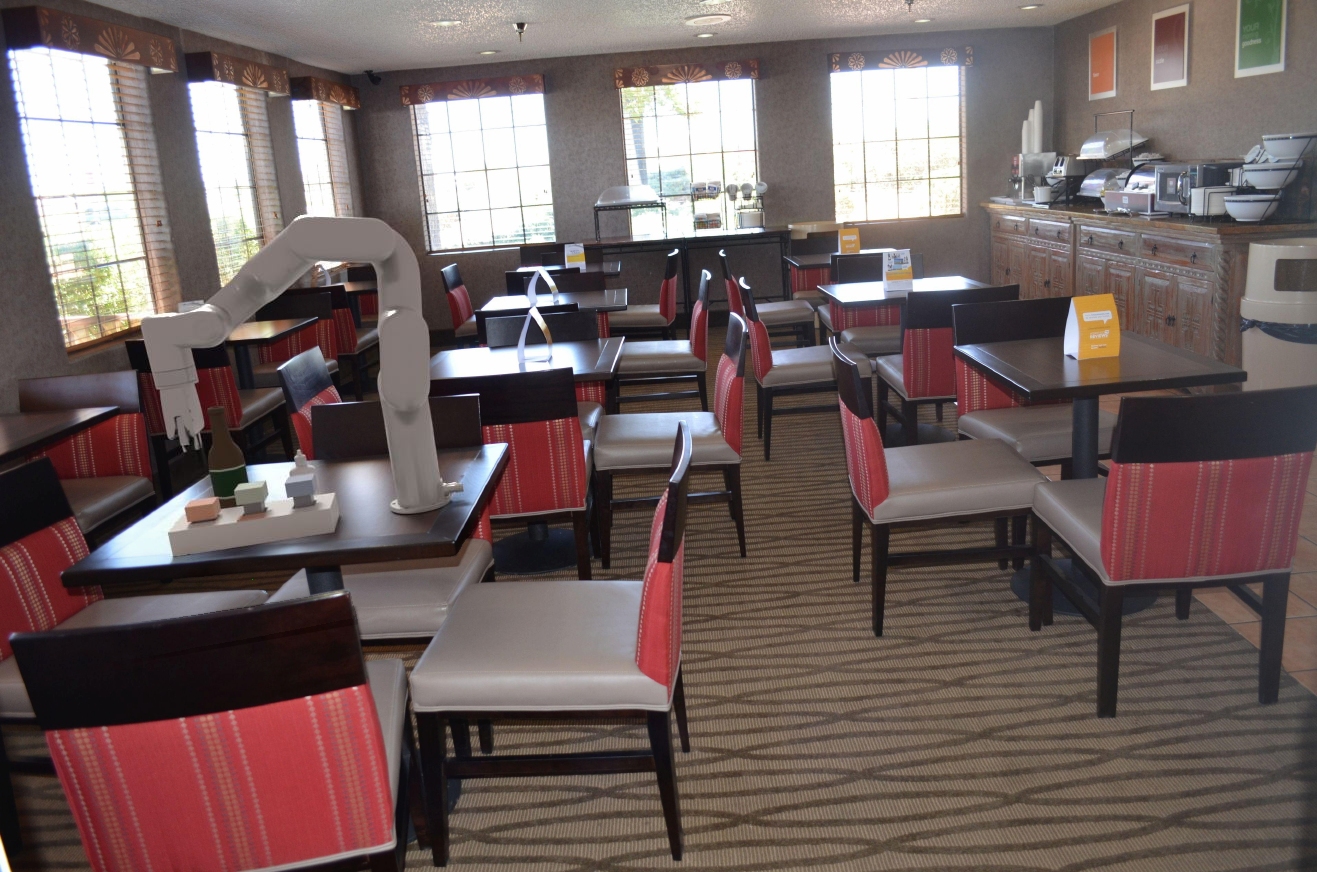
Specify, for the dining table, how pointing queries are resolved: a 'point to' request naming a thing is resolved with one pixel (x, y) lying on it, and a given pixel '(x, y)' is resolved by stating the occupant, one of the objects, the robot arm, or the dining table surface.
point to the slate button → (301, 490)
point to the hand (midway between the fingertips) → (197, 468)
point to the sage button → (252, 497)
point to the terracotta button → (202, 510)
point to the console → (255, 526)
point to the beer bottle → (224, 460)
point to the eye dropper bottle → (304, 469)
